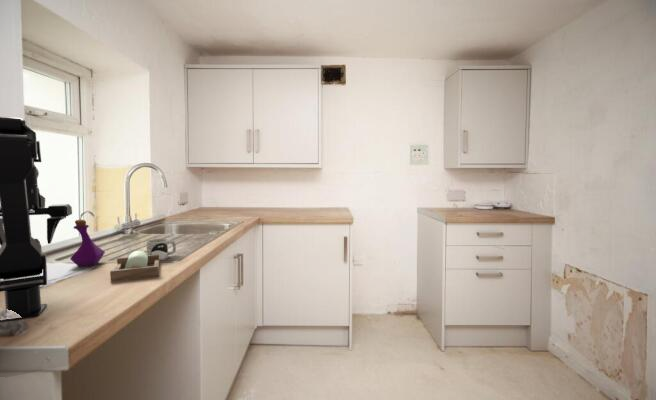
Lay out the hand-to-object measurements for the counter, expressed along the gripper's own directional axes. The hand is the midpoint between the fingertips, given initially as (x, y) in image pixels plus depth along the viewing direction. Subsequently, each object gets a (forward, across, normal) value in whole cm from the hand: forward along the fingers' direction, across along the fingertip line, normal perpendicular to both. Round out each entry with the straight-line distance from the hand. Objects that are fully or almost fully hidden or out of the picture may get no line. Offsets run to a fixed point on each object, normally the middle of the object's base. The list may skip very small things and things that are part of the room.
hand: (27, 244), depth 87 cm
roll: (+12, -24, -7) cm, 28 cm away
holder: (+12, -24, -7) cm, 28 cm away
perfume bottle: (+12, -9, -22) cm, 27 cm away
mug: (+12, -31, -22) cm, 40 cm away
